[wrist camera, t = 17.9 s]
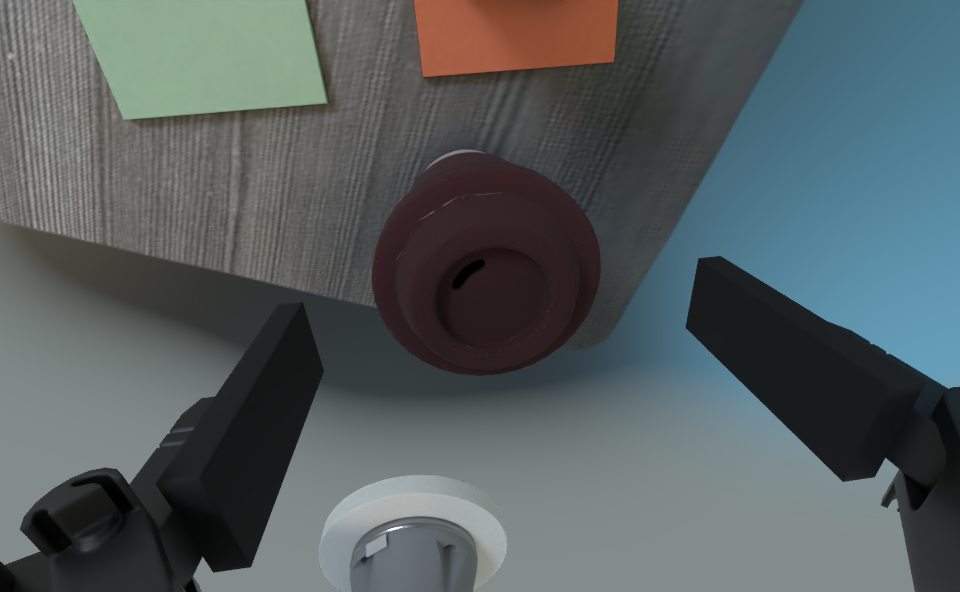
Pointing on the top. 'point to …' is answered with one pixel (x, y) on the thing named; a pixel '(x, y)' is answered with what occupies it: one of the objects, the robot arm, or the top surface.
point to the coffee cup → (484, 266)
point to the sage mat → (204, 54)
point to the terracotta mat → (513, 34)
